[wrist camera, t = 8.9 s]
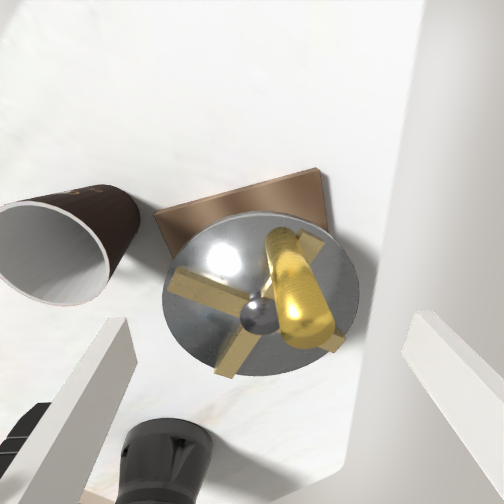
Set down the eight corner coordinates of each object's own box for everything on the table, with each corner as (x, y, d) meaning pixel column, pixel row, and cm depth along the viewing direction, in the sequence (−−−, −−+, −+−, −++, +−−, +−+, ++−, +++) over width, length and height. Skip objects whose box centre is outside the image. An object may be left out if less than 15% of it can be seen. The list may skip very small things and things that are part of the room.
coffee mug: (148, 178, 27) (101, 207, 18) (152, 253, 31) (115, 309, 22) (25, 164, 26) (-89, 189, 17) (45, 244, 30) (-39, 299, 21)
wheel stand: (214, 338, 37) (209, 376, 31) (157, 210, 28) (138, 232, 23) (337, 311, 35) (354, 345, 30) (315, 167, 27) (333, 179, 21)
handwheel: (392, 262, 25) (500, 366, 14) (292, 382, 31) (316, 509, 21) (211, 171, 20) (180, 226, 10) (142, 332, 27) (82, 461, 17)
